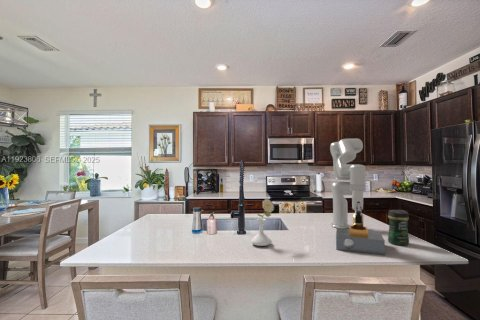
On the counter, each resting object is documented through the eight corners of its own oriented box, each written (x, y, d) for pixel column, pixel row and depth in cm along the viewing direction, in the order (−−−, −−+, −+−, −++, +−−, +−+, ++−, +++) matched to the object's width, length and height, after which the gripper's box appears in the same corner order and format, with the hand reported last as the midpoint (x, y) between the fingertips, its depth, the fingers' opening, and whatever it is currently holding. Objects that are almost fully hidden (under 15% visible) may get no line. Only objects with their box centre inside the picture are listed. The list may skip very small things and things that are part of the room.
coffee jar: (394, 245, 137) (394, 211, 137) (385, 241, 145) (385, 208, 145) (412, 245, 137) (411, 211, 138) (402, 241, 145) (401, 208, 146)
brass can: (352, 225, 139) (352, 210, 139) (363, 226, 137) (362, 210, 138) (353, 227, 135) (353, 212, 135) (363, 228, 133) (363, 212, 133)
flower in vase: (254, 248, 134) (254, 201, 134) (248, 242, 145) (248, 198, 145) (277, 246, 137) (277, 199, 137) (269, 240, 148) (269, 197, 148)
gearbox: (336, 239, 148) (336, 222, 148) (379, 244, 140) (379, 225, 140) (336, 250, 131) (336, 230, 131) (385, 255, 123) (384, 234, 123)
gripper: (349, 186, 146) (350, 218, 145) (350, 189, 130) (351, 224, 129) (364, 186, 143) (364, 219, 143) (367, 189, 127) (367, 226, 127)
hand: (358, 221), depth 136 cm, fingers open, 5 cm apart
